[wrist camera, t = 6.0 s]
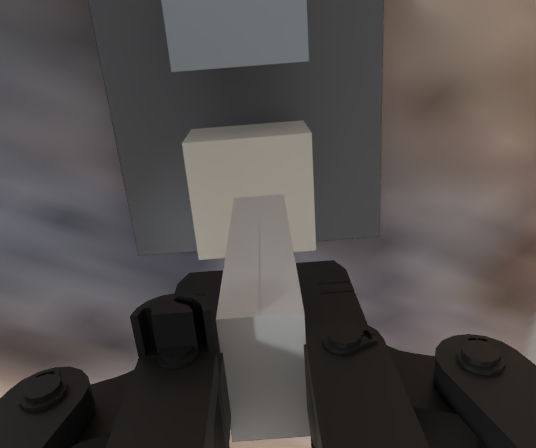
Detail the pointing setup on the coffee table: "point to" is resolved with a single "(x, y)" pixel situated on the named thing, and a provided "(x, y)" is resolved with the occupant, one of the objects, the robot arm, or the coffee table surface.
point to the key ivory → (249, 178)
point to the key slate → (235, 33)
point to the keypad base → (245, 114)
